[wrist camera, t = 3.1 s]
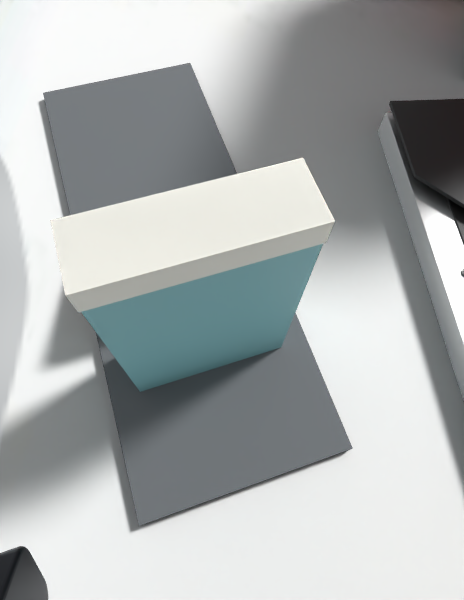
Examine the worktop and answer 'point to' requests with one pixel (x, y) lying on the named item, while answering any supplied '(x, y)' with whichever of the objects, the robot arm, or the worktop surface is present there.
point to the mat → (213, 383)
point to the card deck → (195, 269)
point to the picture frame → (433, 203)
